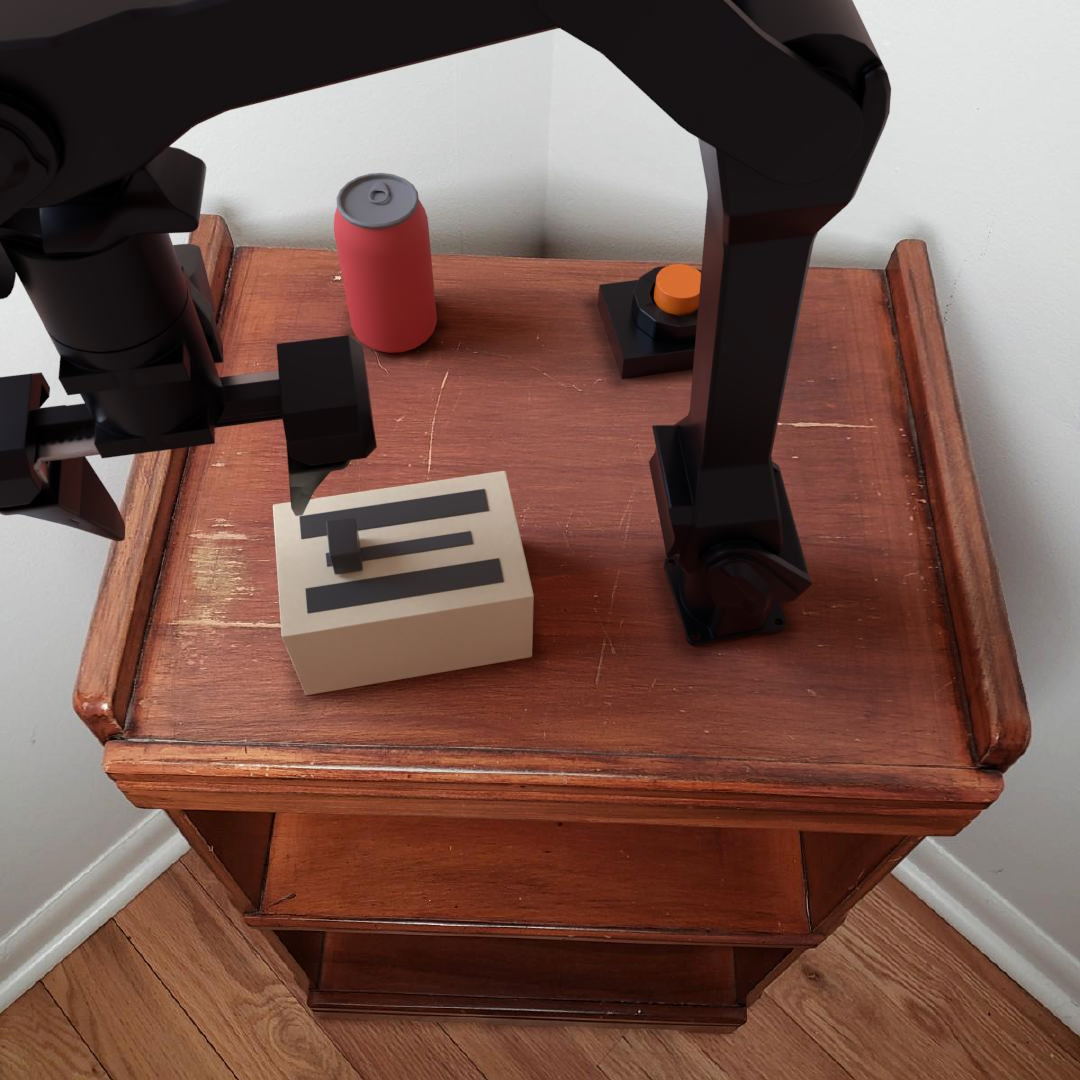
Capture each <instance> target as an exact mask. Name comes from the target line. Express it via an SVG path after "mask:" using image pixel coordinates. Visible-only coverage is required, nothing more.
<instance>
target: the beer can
mask: <svg viewBox="0 0 1080 1080" xmlns="http://www.w3.org/2000/svg"><path fill="white" fill-rule="evenodd" d="M333 217H334V218H333V234H334V241H335V246H336V251H337V255H338V260H339V266H340V272H341V278H342V283H343V287H344V293H345V299H346V304H347V309H348V315H349V321H350V325H351V326H350V327H351V330H352V331H353V333H354V336H355V338H356V339H357V340H359V342H361V343H362V344H363V345H364V346H365V347H367V348H370V349H372V350H375V351H376V352H380V353H381V352H382V353H387V354H394V353H395V354H397V353H406V352H407V351H410V350H414V349H416V348H417V347H419V346H421V345H422V344H424V343H425V342H427V341H428V339H429V338H430V337H431V336H432V335H433V333H434V331H435V329H436V326H437V323H438V319H437V318H438V315H437V305H436V297H435V283H434V273H433V260H432V251H431V249H432V248H431V239H430V237H431V236H430V226H429V219H428V214H427V211H426V208H425V207H424V205H423V204H422V202H421V200H420V198H419V191H418V189H416V187H415V185H414V184H413V183H412V182H410V181H408V180H407V179H406V178H404V177H401V176H399V175H396V174H393V173H386V172H374V173H367V174H363V175H360V176H357V177H355V178H353V179H351V180H349V181H347V183H346V184H344V185H343V187H341V189H339V192H338V194H337V196H336V209H335V212H334V216H333Z"/></svg>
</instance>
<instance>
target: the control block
mask: <svg viewBox="0 0 1080 1080" xmlns="http://www.w3.org/2000/svg"><path fill="white" fill-rule="evenodd" d="M669 265H670V264H669ZM669 265H662V266H655V267H653V268H652V269H650V270H649V271H647V272H646V273H644V274H642V275H641V276H640V277H639V278H638V279H631V280H625V281H617V282H616V281H615V282H609V283H600V284H599V286H598V293H597V294H598V296H597V309H598V311H599V314H600V318H601V321H602V324H603V327H604V330H605V333H606V336H607V339H608V342H609V345H610V348H611V352H612V355H613V358H614V361H615V364H616V367H617V371H618V373H619V377H620V379H621V380H625V379H632V378H641V377H647V376H648V377H649V376H654V375H655V376H656V375H662V374H671V373H678V372H685V371H693V364H694V352H695V340H696V328H697V316H698V309H697V310H696V311H695V312H693V313H691V314H684V315H675V314H671V313H667V312H664V311H662V310H661V309H660V308H659V307H658V306H657V305H656V303H655V301H654V291H655V284H656V277H657V275H658V273H659V272H660V271H661V270H662V269H663V268H665V267H667V266H669ZM696 269H697V270H698V271H699V272H700V273H701V269H699V268H696Z"/></svg>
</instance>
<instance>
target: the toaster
mask: <svg viewBox="0 0 1080 1080" xmlns="http://www.w3.org/2000/svg"><path fill="white" fill-rule="evenodd" d="M507 475H508V474H507V471H506V470H501V471H493V472H485V473H479V474H472V475H466V476H459V477H452V478H447V479H446V478H445V479H439V480H431V481H425V482H419V483H411V484H405V485H397V486H391V487H384V488H376V489H370V490H363V491H355V492H350V493H342V494H336V495H329V496H321V497H314V498H311V499H310V501H309V503H308V505H307V507H306V509H305V511H304V513H303V515H300V516H295V514H294V512H293V511H292V509H291V501H288V502H281V503H274V504H272V513H273V514H272V516H273V530H274V531H273V532H274V544H275V546H274V547H275V559H276V571H277V572H276V574H277V575H276V577H277V590H278V603H279V604H278V606H279V618H280V621H279V622H280V633H281V634H280V635H281V639H282V642H283V644H284V647H285V648H286V651H287V653H288V655H289V658H290V660H291V663H292V665H293V668H294V671H295V672H296V675H297V678H298V680H299V682H300V685H301V687H302V690H303V692H304V695H306V696H310V695H317V694H322V693H329V692H333V691H339V690H345V689H353V688H357V687H363V686H368V685H374V684H382V683H386V682H393V681H399V680H405V679H410V678H415V677H422V676H428V675H432V674H440V673H446V672H451V671H457V670H463V669H470V668H474V667H481V666H486V665H487V666H488V665H493V664H498V663H505V662H511V661H516V660H522V659H528V658H531V657H532V658H533V636H534V602H535V599H534V598H535V594H534V590H533V586H532V580H531V577H530V573H529V568H528V563H527V559H526V555H525V551H524V550H525V549H524V546H523V542H522V541H523V540H522V537H521V532H520V529H519V524H518V519H517V515H516V511H515V506H514V501H513V497H512V492H511V489H510V484H509V479H508V476H507ZM351 517H354V518H355V521H356V526H357V530H358V534H359V540H360V548H361V557H362V565H363V570H362V571H356V572H350V573H343V574H337V575H335V573H334V570H333V566H332V563H331V559H330V556H329V546H328V536H327V526H326V521H331V520H338V519H344V518H351Z"/></svg>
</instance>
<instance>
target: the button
mask: <svg viewBox="0 0 1080 1080" xmlns="http://www.w3.org/2000/svg"><path fill="white" fill-rule="evenodd" d="M666 266H667V267H665V268H663V269H662V270H661V271H660V272H659V273H658V275H657V277H656V284H655V291H654V301H655V303H656V305H657V306H658V307H659V308H660V309H661V310H662V311H664V312H667V313H671V314H675V315H684V314H691V313H693V312H695V311H696V310H697V309H698V305H699V293H700V281H701V273H700V272H699V271H698V270H697V269H698V268H695V267H693V266H691V265H687V264H683V263H682V264H681V263H677V264H675V263H674V264H669V266H668V265H666Z"/></svg>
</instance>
